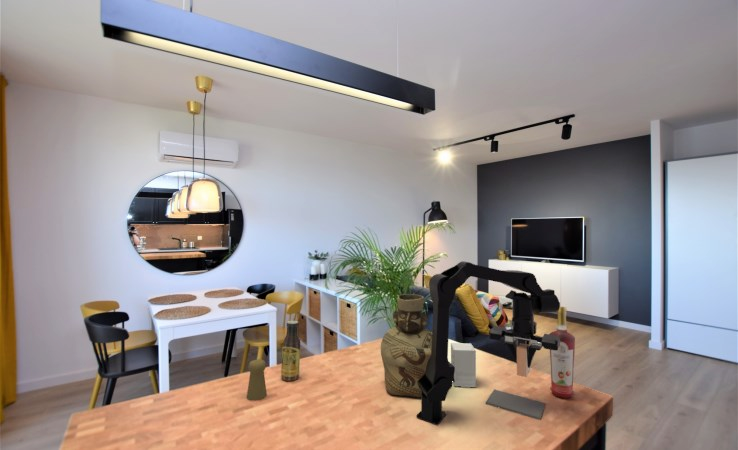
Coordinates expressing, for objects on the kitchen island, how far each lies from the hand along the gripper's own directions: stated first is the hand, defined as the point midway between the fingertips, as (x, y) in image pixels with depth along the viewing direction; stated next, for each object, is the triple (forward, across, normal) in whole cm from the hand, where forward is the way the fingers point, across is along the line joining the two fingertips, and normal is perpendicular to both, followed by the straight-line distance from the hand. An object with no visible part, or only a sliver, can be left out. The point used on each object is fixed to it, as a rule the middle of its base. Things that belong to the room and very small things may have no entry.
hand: (523, 366), depth 101 cm
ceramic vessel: (+12, +34, +8) cm, 37 cm away
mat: (+12, +3, -1) cm, 13 cm away
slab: (+2, 0, 0) cm, 2 cm away
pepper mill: (+12, +70, +43) cm, 82 cm away
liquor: (+13, -8, -16) cm, 22 cm away
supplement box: (+12, +21, -5) cm, 25 cm away
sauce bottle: (+12, +71, +28) cm, 77 cm away
